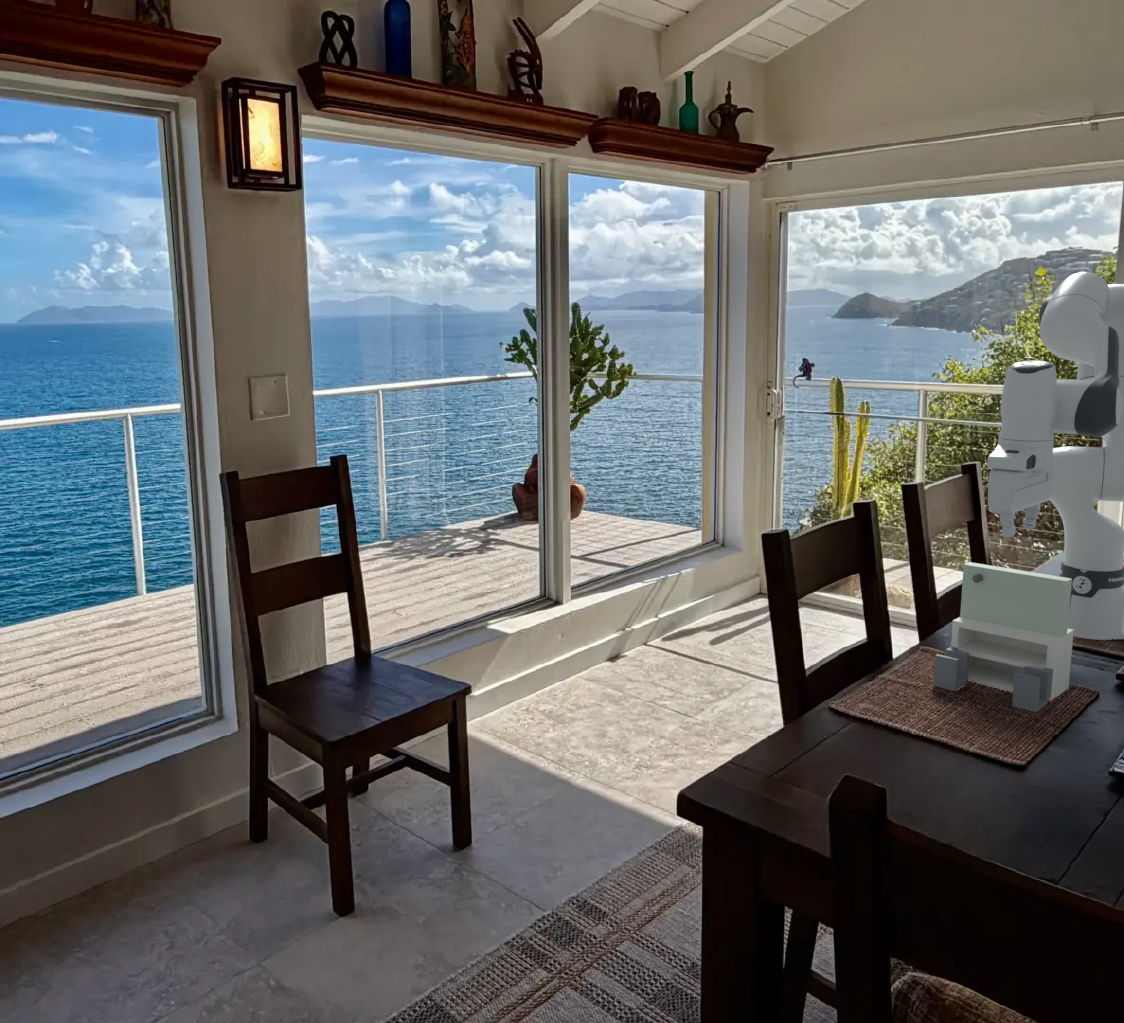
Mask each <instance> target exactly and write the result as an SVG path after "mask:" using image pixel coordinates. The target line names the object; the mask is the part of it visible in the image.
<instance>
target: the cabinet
mask: <svg viewBox="0 0 1124 1023" xmlns="http://www.w3.org/2000/svg"><path fill="white" fill-rule="evenodd" d="M951 628H952V629H951V644H950V647H948V648H946V649H945V651H944V652H945V653H944V654H945V655H943V654H940V653H939V654H938V653H937V654H935V655H934V666H933V667H934V668H933V669H934V671H933V686H938V687H942V688H946V689H950V690H954V691H955V690H957V689H958V688H960V687H961V686H963V685H965V684H966V683H967V684H968V682H967V680H970V681H973V682H976V683H979V684H983V685H986V686H990V687H993V688H992V689H994V688H998V689H1000V690H999V691H1002V690H1004V691H1003V692H1007V691H1009V692H1008V693H1011V692H1013V693H1012V701H1011V702H1012V703H1011V707H1012V706H1016V707H1018V708H1017V709H1019V708H1022V709H1021V710H1023V709H1026V710H1025V711H1027V710H1030V711H1029V712H1031V711H1033V712H1032V713H1035V712H1037V711H1038V712H1039V711H1041V710H1042V709H1043V708H1044V707H1046V706H1047V705H1048V701H1051V700H1052V699H1054V698H1055V697H1056V698H1058V697H1059V696H1061V695H1062V694H1064V692H1065V690H1066V689H1067V690H1068V689H1069V688H1070V678H1071V666H1072V665H1071V664H1072V653H1073V642H1074V641H1073V640H1074V636H1073V632H1074V630H1073V629H1068V631H1067V634H1066V635H1065V636H1063V637H1059V636H1054V635H1049V634H1044V633H1039V632H1034V631H1029V630H1024V629H1019V628H1014V627H1009V626H1004V625H999V624H994V623H989V622H984V621H979V620H974V619H969V618H964V617H960V616H959V617H957V618H954V619H953V620H952V625H951ZM933 686H932V687H933ZM986 686H985V687H986ZM990 687H989V688H990ZM998 689H997V690H998ZM1067 690H1066V691H1067ZM1061 693H1062V694H1061ZM1057 696H1058V697H1057ZM1056 698H1055V699H1056ZM1055 699H1054V700H1055ZM1052 701H1053V700H1052ZM1052 701H1051V702H1052ZM1046 704H1047V705H1046ZM1045 705H1046V706H1045ZM1042 707H1043V708H1042ZM1041 708H1042V709H1041ZM1038 712H1037V713H1038Z"/></svg>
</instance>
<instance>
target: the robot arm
mask: <svg viewBox="0 0 1124 1023" xmlns="http://www.w3.org/2000/svg"><path fill="white" fill-rule="evenodd" d="M1038 325H1039V326H1038V327H1039V337H1040V341H1041V342H1042V344H1043V345H1044V347H1045V348H1046V349H1047V351H1049V352H1050V353H1051V354H1053V355H1054V356H1056V357H1057V358H1060V359H1062V360H1066V361H1072V362H1076V363H1078V367H1077V374H1076V379H1070V378H1069V379H1067V378H1057V369H1056V366H1055V364H1054V363H1052V362H1050V361H1045V360H1038V359H1037V360H1031V359H1030V360H1024V361H1023V360H1022V361H1017V362H1013V364H1011V365H1009V366H1008V368H1007V371H1006V373H1005V374H1006V375H1005V378H1004V382H1003V386H1002V394H1001V402H1000V417H1001V428H1000V431H999V433H998V441H997V445H996V447H995V449H994V450H993V451H992V452H991V454H989V455H988V457H987V460H986V464H987V465H986V467H987V468H988V469H990V471H989V475H988V482H987V483H988V484H987V488H988V489H987V505H988V510H989V511H990V512H991V513H993V514H998V515H999V521H1000V523H1001V526H1002V527H1001V536H1002V537H1005V538H1012V537H1014V536H1015V535H1016V530H1017V529H1016V528H1017V526H1015V518H1016V513H1017V512H1020V511H1023V510H1025V515H1024V518H1023V519H1022V528H1023V529H1025V530H1026V529H1027V530H1032V529H1035V528H1036V525H1037V519H1038V516H1039V513H1040V510H1041V504H1043V503H1046V502H1048V501H1050V502H1051V503H1052V505H1053V506H1054V507H1055V508H1056V510H1057V512H1058V513H1059V516H1060V518H1061V522H1062V524H1063V529H1064V531H1063V532H1064V550H1063V552H1064V554H1063V561H1062V562H1061V563H1060V567H1059V577H1065V578H1072V584H1071V587H1072V588H1073V591H1072V597H1071V604H1070V610H1069V619H1068V629H1073V630H1074V632H1073V638H1079V639H1087V640H1088V639H1089V640H1095V641H1096V640H1097V641H1098V640H1099V641H1108V640H1109V641H1110V640H1112V639H1113V640H1124V529H1123V527H1122V526H1121V525H1120V524H1119V523H1118V522H1116V521H1115V520H1113V519H1111V518H1109V517H1107V516H1106V515H1103V514H1101V513H1100V512H1098V511H1097V510H1096V509H1095V507H1094V506H1095V505H1094V503H1095V502H1099V501H1108V502H1121V503H1122V502H1124V283H1113V284H1111V283H1110V284H1108V282H1106V280H1105V279H1104V278H1103V277H1102V276H1100V275H1099V274H1096V273H1093V272H1089V271H1082V272H1077V273H1073V274H1071V275H1069V276H1068V277H1066V278H1065V279H1064V280H1063V281H1062V282H1061V283H1060V284H1059V286H1058V287H1057V288H1056V289H1055V291H1054V292H1053V294H1052V295H1050V296H1048V297H1047V298H1046V299H1045V300H1044V301H1043V302H1042V303H1041V305H1040V308H1039V312H1038ZM1055 434H1069V435H1079V436H1085V437H1091V438H1102V439H1103V441H1104V443H1105V444H1106V445H1105V446H1102V447H1101V446H1100V447H1099V446H1098V447H1097V446H1075V445H1073V446H1068V445H1067V446H1060V447H1054V444H1055ZM1113 640H1112V641H1113Z"/></svg>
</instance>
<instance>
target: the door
mask: <svg viewBox="0 0 1124 1023" xmlns="http://www.w3.org/2000/svg"><path fill="white" fill-rule="evenodd" d="M962 567H963V569H962V584H961V585H962V586H961V600H960V612H959V617H964V618H969V619H974V620H979V621H984V622H989V623H994V624H999V625H1004V626H1009V627H1014V628H1019V629H1024V630H1029V631H1034V632H1039V633H1044V634H1049V635H1054V636H1059V637H1063V636H1065V635H1066V634H1067V631H1068V619H1069V607H1070V596H1071V584H1072V578H1065V577H1060V575H1059V576H1058V575H1053V574H1045V573H1039V572H1034V571H1028V570H1027V571H1026V570H1022V569H1014V568H1008V567H1002V566H997V565H989V564H984V563H977V562H970V561H969V562H966V563H964V564H963V566H962Z"/></svg>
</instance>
